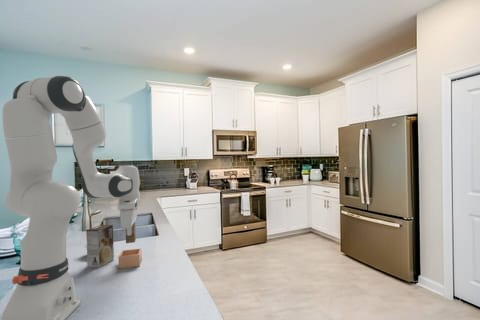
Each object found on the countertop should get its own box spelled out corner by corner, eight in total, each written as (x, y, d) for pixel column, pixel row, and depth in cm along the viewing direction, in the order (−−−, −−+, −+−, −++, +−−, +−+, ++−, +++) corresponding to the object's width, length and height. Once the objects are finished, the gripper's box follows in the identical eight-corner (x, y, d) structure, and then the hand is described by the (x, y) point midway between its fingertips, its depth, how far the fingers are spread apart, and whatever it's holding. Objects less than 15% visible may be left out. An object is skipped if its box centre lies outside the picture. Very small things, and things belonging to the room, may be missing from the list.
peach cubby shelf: (139, 266, 110) (139, 254, 110) (118, 268, 108) (118, 256, 108) (141, 259, 118) (141, 248, 118) (122, 261, 116) (122, 250, 116)
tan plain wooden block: (134, 242, 112) (134, 224, 112) (125, 243, 111) (125, 224, 111) (135, 240, 115) (135, 222, 115) (127, 240, 114) (126, 222, 114)
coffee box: (102, 258, 119) (101, 224, 119) (114, 259, 118) (113, 224, 118) (86, 267, 110) (85, 229, 110) (99, 268, 109) (98, 230, 109)
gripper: (125, 198, 122) (126, 228, 122) (117, 206, 102) (118, 241, 103) (139, 198, 124) (140, 226, 124) (134, 205, 104) (135, 239, 104)
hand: (130, 233), depth 113 cm, fingers closed on tan plain wooden block, 3 cm apart
